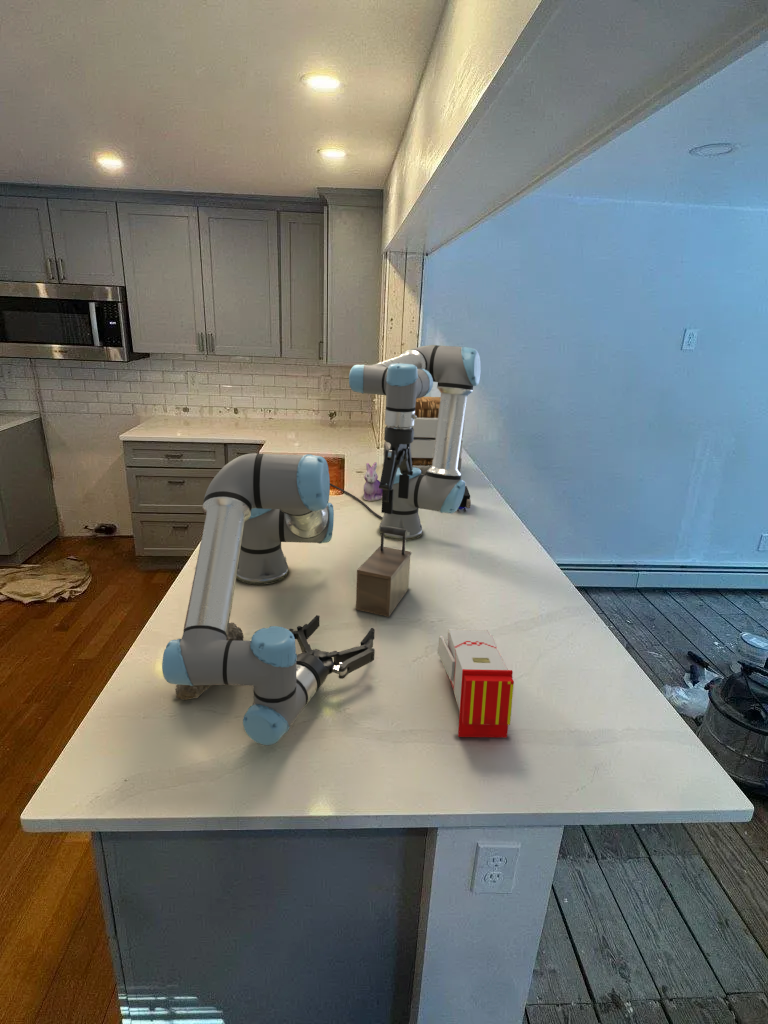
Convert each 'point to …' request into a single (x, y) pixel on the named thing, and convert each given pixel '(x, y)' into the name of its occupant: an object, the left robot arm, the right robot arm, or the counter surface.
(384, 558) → the lid
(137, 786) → the counter surface
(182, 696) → the fossil
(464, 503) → the figurine character
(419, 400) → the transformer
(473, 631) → the toy
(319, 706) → the counter surface
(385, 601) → the chest
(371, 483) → the figurine
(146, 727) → the counter surface
